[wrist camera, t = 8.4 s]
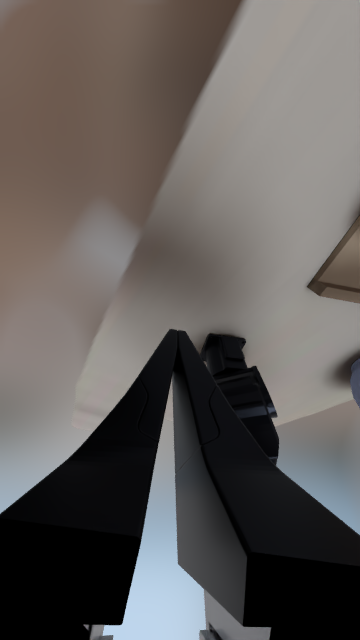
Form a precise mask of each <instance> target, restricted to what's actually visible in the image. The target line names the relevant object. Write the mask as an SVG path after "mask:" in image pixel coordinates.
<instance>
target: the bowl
mask: <svg viewBox="0 0 360 640" xmlns="http://www.w3.org/2000/svg"><path fill="white" fill-rule="evenodd" d="M351 371H352V376H351V379H350V384H351V389H352V394H353V397H354V399H355V400H356V403H357V404H358V406H359V408H360V358H359V359H358V360H356V361H355V362H354V363H353V365H352V367H351Z"/></svg>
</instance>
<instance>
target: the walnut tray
mask: <svg viewBox="0 0 360 640" xmlns="http://www.w3.org/2000/svg"><path fill="white" fill-rule="evenodd" d="M307 287H308V288H309V289H311V290H312V291H313V292H315V293H316V294H317V295H319V296H322V297H327V298H333V299H339V300H344V301H350V302H355V303H360V216H359V217H358V219H357V220H356V221H355V223H354V224H353V225H352V227H351V228H350V229H349V231H348V232H347V234H346V235H345V236H344V238H343V239H342V240H341V242H340V243H339V244H338V246H337V247H336V248H335V250H334V251H333V252H332V254H331V255H330V256H329V258H328V259H327V261H326V262H325V263H324V265H323V266H322V267H321V269H320V270H319V271H318V273H317V274H316V275H315V277H314V278H313V279H312V281H311V282H310V284H309V285H308V286H307Z"/></svg>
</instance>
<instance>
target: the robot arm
mask: <svg viewBox="0 0 360 640" xmlns="http://www.w3.org/2000/svg"><path fill="white" fill-rule="evenodd" d="M245 343H246V340H245V339H243V338H235V337H228V336H221V335H214V334H209V335H208V337H207V339H206V342H205V344H204V347H203V349H202V352H201V354H200V355H199V353H198V351H197V350H196V348H195V346H194V345H193V343H192V341H191V340H190V338H189V336H188V335H187V333H186V332H185V331H181V330H178V331H177V330H174V329H170V330H169V331H168V332H167V334H166V335H165V337H164V338H163V340H162V341H161V343H160V344H159V346H158V347H157V349H156V350H155V352H154V353H153V355H152V356H151V358H150V359H149V361H148V362H147V363H146V365H145V366H144V368H143V369H142V371H141V372H140V374H139V375H138V377H137V378H136V380H135V381H134V383H133V384H132V385H131V387H130V388H129V390H128V391H127V392H126V394H125V395H124V396H123V398H122V399H121V400H120V401H119V403H118V404H117V405H116V406H115V407H114V409H113V410H112V411H111V412H110V413H109V414H108V415H107V417H106V418H105V419H104V420H103V421H102V422H101V424H100V425H99V426H98V427H97V428H96V429H95V431H94V432H93V433H92V434H91V435H90V436H89V438H88V439H87V440H86V441H85V442H84V443H83V444H82V445H81V447H79V448H78V450H76V452H74V453H73V454H72V455H71V456H70V457H69V458H68V459H67V460H66V461H65V462H64V463H63V464H61V465H60V466H59V467H57V468H56V469H55V470H54V471H53V472H51V473H50V474H49V475H48V476H46V477H45V478H44V479H43V480H41V481H40V482H39V483H38V484H36V485H35V486H34V487H33V488H32V489H30V490H29V491H28V492H27V493H25V494H24V495H23V496H22V497H21V498H19V499H18V500H17V501H16V502H14V503H13V504H12V505H11V506H9V507H8V508H7V509H6V510H4V511H3V512H2V513H1V514H0V640H113V635H109V636H102V635H103V630H104V625H121V624H122V623H123V618H124V614H125V609H126V604H127V600H128V596H129V591H130V587H131V583H132V578H133V574H134V569H135V566H136V561H137V557H138V553H139V549H140V544H141V539H142V533H143V527H144V521H145V516H146V510H147V504H148V499H149V493H150V487H151V481H152V475H153V470H154V464H155V459H156V453H157V449H158V443H159V439H160V434H161V429H162V424H163V419H164V414H165V409H166V404H167V399H168V394H169V389H170V384H171V379H172V386H173V418H174V451H175V474H176V475H175V483H176V514H177V515H176V516H177V549H178V564H179V565H180V566H181V567H182V568H183V569H184V570H185V571H186V572H187V573H188V574H189V575H190V576H191V577H192V578H193V579H194V580H195V581H196V582H197V583H198V584H200V585H201V586H202V588H204V598H205V616H206V630H200V634H199V636H200V640H360V535H359V534H358V533H356V532H355V531H354V530H353V529H351V528H350V527H349V526H348V525H346V524H345V523H344V522H343V521H342V520H340V519H339V518H338V517H337V516H335V515H334V514H333V513H332V512H330V511H329V510H328V509H327V508H326V507H324V506H323V505H322V504H321V503H320V502H318V501H317V500H316V499H315V498H313V497H312V496H311V495H310V494H308V493H307V492H306V491H305V490H304V489H302V488H301V487H300V486H299V485H297V484H296V483H295V482H294V481H292V480H291V479H290V478H289V477H288V476H286V475H285V474H284V473H283V472H282V471H281V470H280V469H279V468H278V467H276V462H277V458H278V450H279V438H278V435H277V432H276V430H275V427H274V424H273V422H272V419H271V418H276V417H277V413H276V410H275V407H274V405H273V402H272V400H271V397H270V395H269V392H268V390H267V388H266V386H265V384H264V382H263V380H262V377H261V375H260V373H259V371H258V369H257V367H256V366H252V367H251V368H247V365H246V362H245V360H244V359H245V357H244V355H243V352H242V348H243V347H244V345H245ZM203 361H206V362H207V367H206V365H205V363H204V362H203Z"/></svg>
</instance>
